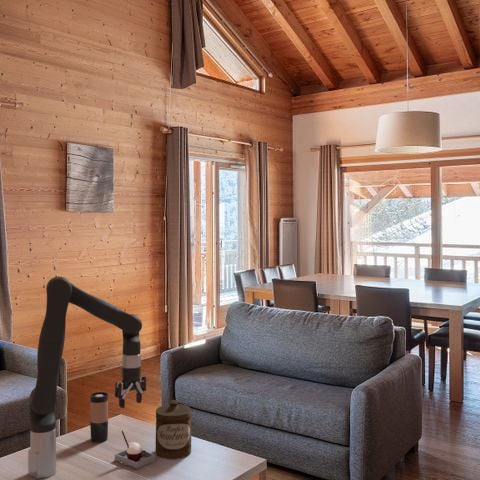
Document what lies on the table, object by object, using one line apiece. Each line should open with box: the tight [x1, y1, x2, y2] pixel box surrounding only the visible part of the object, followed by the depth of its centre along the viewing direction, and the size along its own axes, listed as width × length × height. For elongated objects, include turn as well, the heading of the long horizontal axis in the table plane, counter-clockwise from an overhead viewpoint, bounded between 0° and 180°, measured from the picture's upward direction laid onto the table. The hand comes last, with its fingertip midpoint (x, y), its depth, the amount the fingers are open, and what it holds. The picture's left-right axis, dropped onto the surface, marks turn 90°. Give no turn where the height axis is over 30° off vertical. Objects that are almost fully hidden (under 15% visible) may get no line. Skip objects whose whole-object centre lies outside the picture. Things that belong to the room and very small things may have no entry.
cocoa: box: [121, 430, 147, 462], centre depth 229 cm, size 10×6×12 cm, turn 83°
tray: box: [114, 449, 156, 470], centre depth 230 cm, size 10×13×2 cm
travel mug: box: [89, 391, 109, 443], centre depth 251 cm, size 8×8×20 cm
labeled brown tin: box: [155, 399, 192, 460], centre depth 238 cm, size 15×15×22 cm
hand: (130, 405), depth 229 cm, fingers open, 8 cm apart
